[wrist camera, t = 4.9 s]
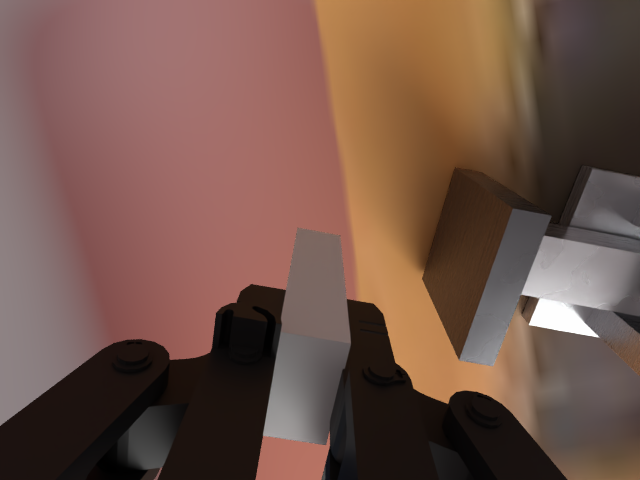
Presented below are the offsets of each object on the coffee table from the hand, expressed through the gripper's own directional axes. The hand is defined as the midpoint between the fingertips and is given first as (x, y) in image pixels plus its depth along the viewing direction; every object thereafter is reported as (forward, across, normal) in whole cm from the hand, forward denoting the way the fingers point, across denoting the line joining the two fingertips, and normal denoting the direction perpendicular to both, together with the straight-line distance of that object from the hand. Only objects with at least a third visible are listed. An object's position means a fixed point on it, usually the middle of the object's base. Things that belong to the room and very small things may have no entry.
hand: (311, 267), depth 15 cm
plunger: (+8, +14, 0) cm, 16 cm away
